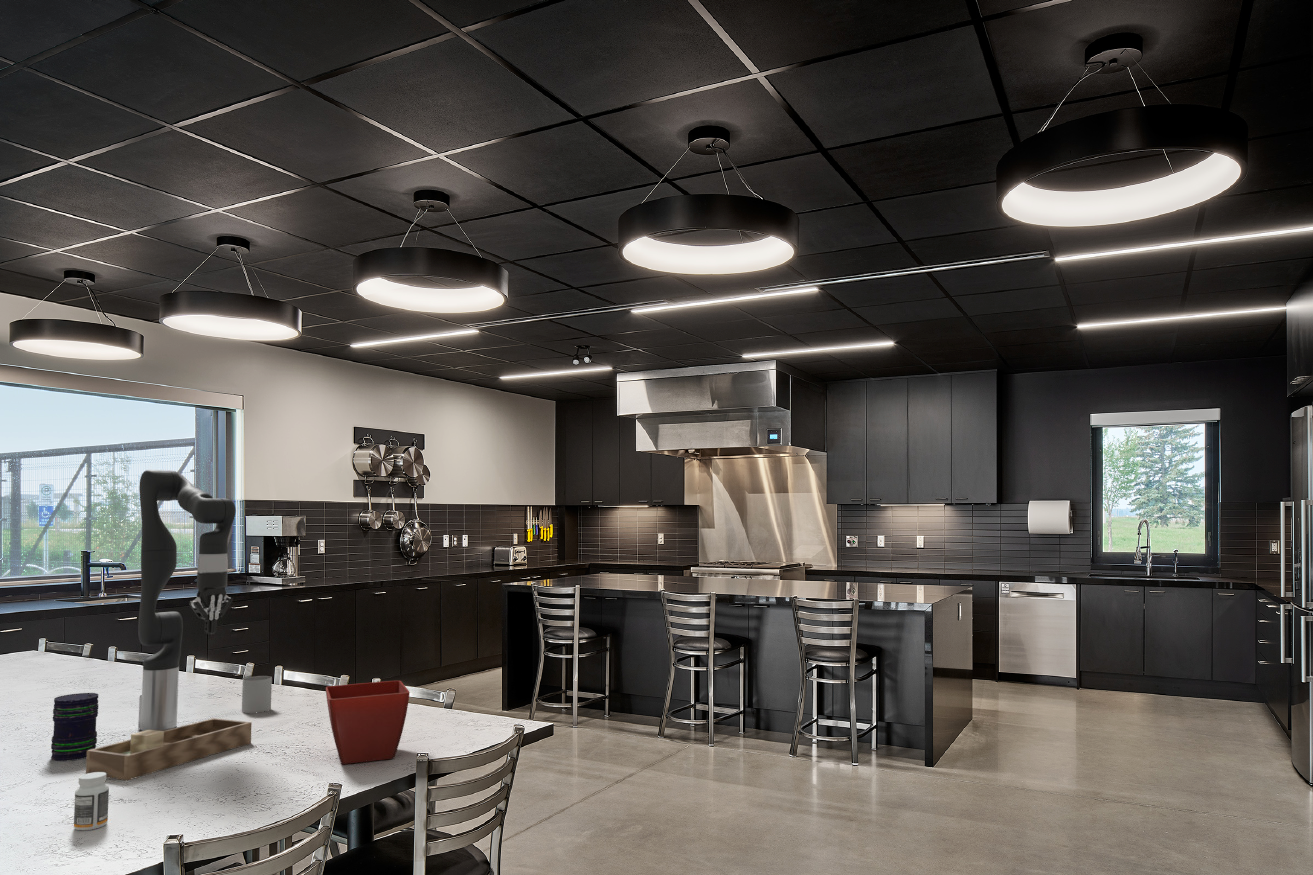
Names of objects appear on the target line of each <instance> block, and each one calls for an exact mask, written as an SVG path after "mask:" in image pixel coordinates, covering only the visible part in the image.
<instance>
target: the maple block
mask: <svg viewBox="0 0 1313 875" xmlns="http://www.w3.org/2000/svg"><path fill="white" fill-rule="evenodd" d="M164 731H165V730H162V731H157V730H146V731H140V732H139V731H138V732H134V733H131V734H130V739H131V745H130V754H133V753H137V752H141V751H144V750H148V749H152V748H155V747H159V746H163V741H164Z"/></svg>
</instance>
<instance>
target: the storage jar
mask: <svg viewBox="0 0 1313 875" xmlns="http://www.w3.org/2000/svg"><path fill="white" fill-rule="evenodd" d="M98 699H99V694H98V693H96V692H80V693H79V692H78V693H72V694H71V693H70V694H69V693H68V694H64V695H60V696H57V697H54V698H53V710H52V714H53V715H52V721H53V735H52V737H51V746H50V748H51V757H50V759H52V760H51V761H54V760H55V761H56V762H68V761H67V760H71V761H77V759H78V760H82V759H81V758H83V759H87V758H86V757H87V750H91V749H95V748H97V742H98V741H97V740H98V738H97V736H98V732H97V717H98V714H99V700H98ZM55 761H54V762H55Z"/></svg>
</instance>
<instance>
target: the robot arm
mask: <svg viewBox="0 0 1313 875" xmlns="http://www.w3.org/2000/svg"><path fill="white" fill-rule="evenodd" d="M138 486H139V487H138V488H139V490H138V491H139V504H140V505H139V506H140V513H141V514H140V515H141V543H140V545H141V546H140V576H141V577H140V583H141V586H140V588H141V589H140V591H141V592H140V602H139V603H140V604H139V613H138V626H137V628H138V629H137V630H138V631H137V632H138V635H137V636H138V640H139V642H140V644H141V645H142V646H143V647H144V646H146V647H149V646H157V645H158V646H159V645H163V647H162V648H161V649H160V650H158V652H156V653H154V654H152V655H150V656H148V657H146V658H144V660H143V662H142V683H141V684H142V685H141V687H142V688H141V695H139V702H138V703H139V704H138V726H137V727H138V730H140V732H142V731H146V730H157V731H165V730H169V729H173V728H177V726H178V725H177V724H178V702H179V701H178V699H179V681H180V680H179V675H180V658H181V654H182V641H183V634H184V633H183V631H184V630H183V628H184V622H183V617H182V615H181V613H180V612H178V611H165V612H164V611H163V612H156V609H157V603H158V599H159V597H160V594H161V593H162V591H163V589H164V588H165V586H166V585H167V583H168V581H169V580H170V579H171V577H172V576H173V574H174V572H175V570H176V567H177V552H178V551H177V543H176V540H175V539H174V536H173V535H172V533H171V532H170V529H168V527H167V526H166V524H164V522H163V520H162V518H161V516H160V513H159V507H158V506H159V505H158V501H159V502H171V501H177V503H178V505H179V506H180V508H181V509H182V510H184V511H185V512H188V513H190V515H192V518H193V519H194V520H195V521H196V522H198V523H199V524H204V525H208V524H211V525H212V524H213V525H214V524H216V525H215V528H214V529H213V530H212V531H209V532H204V533H201V534H200V537H199V544H198V545H199V547H198V548H199V549H198V559H197V568H196V569H197V573H196V574H197V575H196V587H197V589H198V590H197V591H198V592H197V593H196V598H195V599H193V600H190V601H189V602H188V604H189V606H190V608H191V610H192V611H193V612H194V614H195V616H197V618H198V619H201V620H204V628H203V629H204V630H203V631H204V634H206V635H214V634H216V632H217V629H218V628H217V627H218V626H217V625H218V619H219V618H222V617H224V615H225V614H226V612H227V611H228V609H229V607H230V606H231V604H232V603H233V600H234V598H233V597H229V595H227V591H226V587H227V586H228V574H229V573H228V569H229V566H228V565H229V564H228V563H229V561H228V560H229V558H228V539H229V535H230V532H231V530H232V526H233V522H234V520H235V517H236V511H237V510H236V508H237V507H236V505H235V503H234V501H233V500H232V499H229V498H214V497H213V496H212V495H211V494H209V493H208V492H206V491H204V490H203V489H200V488H197V487H196V486H195V485H193V484H192V482H190V481H189V480H188V479H187V478H186V476H184V475H183V474H182V473H180V472H179V471H175V470H171V469H170V470H166V469H165V470H164V469H163V470H162V469H160V470H159V469H146V470H144V471H143V472H142V474H141V476H140V478H139V485H138Z"/></svg>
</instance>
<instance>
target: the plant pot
mask: <svg viewBox="0 0 1313 875" xmlns="http://www.w3.org/2000/svg"><path fill="white" fill-rule="evenodd" d="M325 694H326V695H325V696H326V703H327V709H328V717H329V722H330V723H329V724H330V727H331V733H332V737H333V740H334V743H335V747H336V748H335V749H336V751H337V754H338V758H339V762H340V764H342V765H347V764H355V763H362V762H363V763H366V762H374V761H382V760H390V759H394V758H395V756H396V753H397V751H398V747H399V745H400V741H401V738H402V735H403V730H404V726H405V722H406V719H407V718H406V717H407V713H408V709H409V708H408V706H409V700H410V690H409V689H408V688H407V687H406V686H405V684H404V683H403V681H402V680H388V681H387V680H386V681H374V682H361V683H351V684H341V685H329V686H326V687H325Z"/></svg>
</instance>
